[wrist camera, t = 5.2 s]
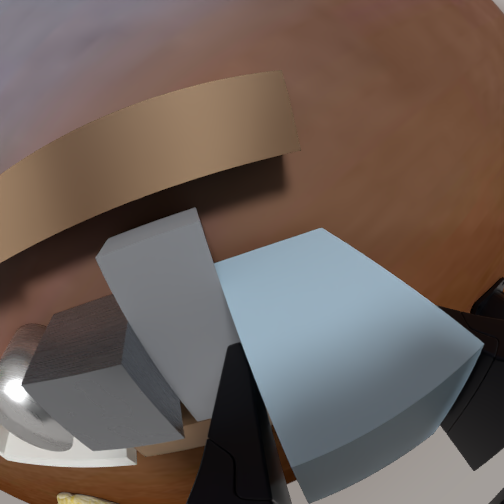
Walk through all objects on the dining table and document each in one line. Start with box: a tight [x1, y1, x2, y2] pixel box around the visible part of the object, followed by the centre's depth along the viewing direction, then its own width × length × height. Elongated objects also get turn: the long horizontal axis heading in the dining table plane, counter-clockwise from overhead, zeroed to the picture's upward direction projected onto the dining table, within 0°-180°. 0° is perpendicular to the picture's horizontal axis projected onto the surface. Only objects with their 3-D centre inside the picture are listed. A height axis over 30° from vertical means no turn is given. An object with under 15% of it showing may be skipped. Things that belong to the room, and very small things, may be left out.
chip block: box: [21, 294, 185, 451], centre depth 8 cm, size 4×4×4 cm
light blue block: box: [96, 207, 484, 504], centre depth 7 cm, size 7×8×7 cm
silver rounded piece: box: [0, 324, 74, 452], centre depth 7 cm, size 4×4×4 cm
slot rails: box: [0, 70, 301, 457], centre depth 9 cm, size 11×15×2 cm
